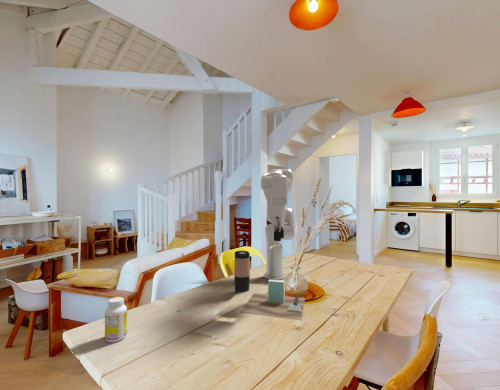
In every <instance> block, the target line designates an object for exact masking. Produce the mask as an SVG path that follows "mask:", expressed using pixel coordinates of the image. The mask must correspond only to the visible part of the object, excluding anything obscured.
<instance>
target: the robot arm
mask: <svg viewBox="0 0 500 390" xmlns="http://www.w3.org/2000/svg"><path fill="white" fill-rule="evenodd" d="M293 174H294V173H293V171H292V170H291V169H290V168H273V169H271V170H270V171H269V172H268V173H265V174H262V175H261V178H260V188H261V190H262V191H263V194H264V197H265V199H266V204H267V205H266V207H267V213H266V214H267V220H268V222H270V223H268V224H267V225H266V226H265V228H264V229H265V230H264V232H265V239H266V240H265V242H266V272H265V273H264V274H263V277H264V278H265V279H267V280H280V281H281V280H283V279H285V278H286V274H285V273H283V265H284V264H283V259H284V258H283V257H284V255H283V253H284V252H283V249H284V248H283V246H282V244H281V243H280V242H281V241H288V240H289V241H293V240H294V239H295V235H296V230H295V229H296V228H295V216H294V210H293V209H292V208H291V207H286V206H287V205H288V193H290V192H291V190H292V185H293V181H294V180H293V179H294V175H293ZM274 244H280V246H275V247H273V248H271V249H270V247H271V246H273V245H274Z"/></svg>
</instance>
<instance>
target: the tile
mask: <svg viewBox="0 0 500 390" xmlns="http://www.w3.org/2000/svg"><path fill="white" fill-rule="evenodd" d="M267 280H268V281H267V282H268V283H267V285H268V287H267V290H268V291H267V294H268V301H270V302H279V303H284V302H285V296H286V295H285V293H286V292H285V291H286V290H285V285H286V282H285V281H286V280H281V279H280V280H271V279H267Z"/></svg>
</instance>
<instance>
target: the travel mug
mask: <svg viewBox="0 0 500 390" xmlns="http://www.w3.org/2000/svg"><path fill="white" fill-rule="evenodd" d="M250 253H251V252H249V251H247V250H237V251H236V250H235V252H234V267H233V270H234V272H233V273H234V274H233V275H234V277H233V278H234V294H235V293H236V294H237V293H247V292H248V291H250V282H251V281H250V278H251V276H250V273H251V272H250V271H251V269H250V261H251V259H250V258H251V257H250V255H251V254H250Z"/></svg>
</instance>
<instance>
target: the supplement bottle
mask: <svg viewBox="0 0 500 390" xmlns="http://www.w3.org/2000/svg"><path fill="white" fill-rule="evenodd" d="M107 302H108V303H107V305H108V307H107V308H106V309H105V311H104V340H105V341H106V343H116V342H120V341H123V340H124V339H125V338H126V337H127V335H128V307H127V305H126V304H125V303H124V302H125V298H124V297H122V296H116V297H112V298H110V299H108V301H107Z"/></svg>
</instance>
